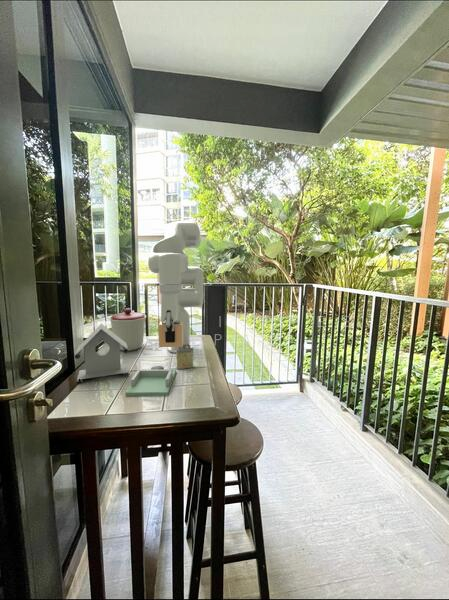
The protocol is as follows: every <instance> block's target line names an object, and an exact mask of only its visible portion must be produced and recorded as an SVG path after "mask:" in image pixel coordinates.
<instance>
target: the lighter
mask: <svg viewBox="0 0 449 600" xmlns="http://www.w3.org/2000/svg"><path fill="white" fill-rule="evenodd" d="M190 345H191V344H190ZM190 345H189V344H183V346H182V347H184V348H181V347H178V349H177V353H176V370H177V369H179V370H186V369H191V368H193V367H194V351H193V350H194V349H193V348H190ZM186 346H188V348H185V347H186Z"/></svg>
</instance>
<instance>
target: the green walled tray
mask: <svg viewBox="0 0 449 600" xmlns="http://www.w3.org/2000/svg"><path fill="white" fill-rule="evenodd" d="M176 374H177V368H176V369H175V368H171V369H170V368H164V366H161V365H155V366H152V367H151V368H150V369H149V368H148V369H147V368H145V369H144V368H143V369H138V370H136V372H135V373H134V374H133V376H132V377H131V378H130V385H129V387H128V388H127V390H126V391H125V396H126V397H132V396H133V397H143V396H144V397H147V396H149V397H150V396H151V397H152V396H153V397H154V396H155V397H157V396H160V397H161V396H162V397H163V396H169V394H170V390H171V387H172V385H173V383H174V382H173V381H174V379H175V376H176Z"/></svg>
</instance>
